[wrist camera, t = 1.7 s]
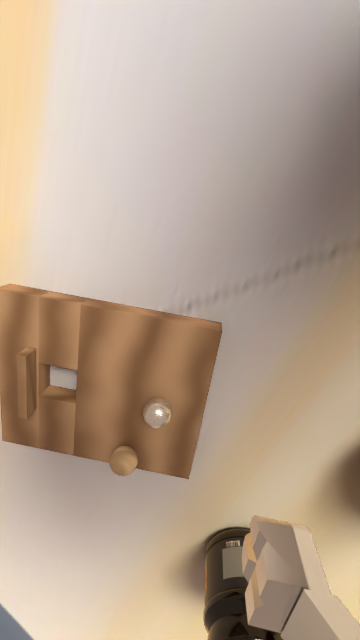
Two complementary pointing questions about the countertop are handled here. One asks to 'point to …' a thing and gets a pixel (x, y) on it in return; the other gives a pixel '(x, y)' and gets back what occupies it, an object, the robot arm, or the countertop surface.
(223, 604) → the supplement container
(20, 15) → the countertop surface
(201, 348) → the board
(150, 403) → the steel ball
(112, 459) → the cork ball
